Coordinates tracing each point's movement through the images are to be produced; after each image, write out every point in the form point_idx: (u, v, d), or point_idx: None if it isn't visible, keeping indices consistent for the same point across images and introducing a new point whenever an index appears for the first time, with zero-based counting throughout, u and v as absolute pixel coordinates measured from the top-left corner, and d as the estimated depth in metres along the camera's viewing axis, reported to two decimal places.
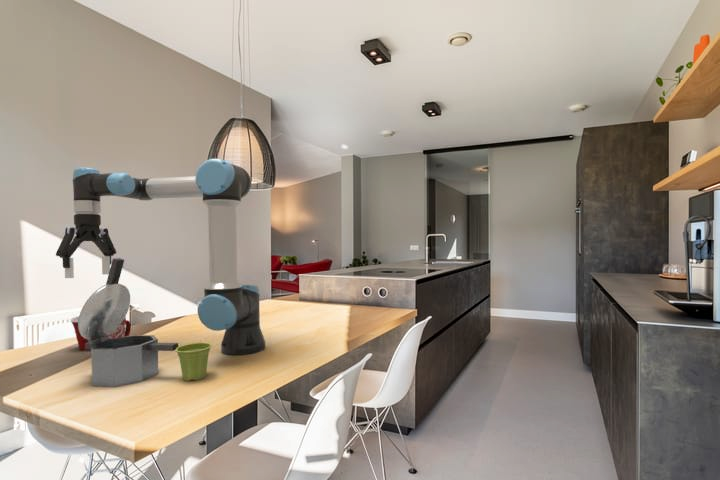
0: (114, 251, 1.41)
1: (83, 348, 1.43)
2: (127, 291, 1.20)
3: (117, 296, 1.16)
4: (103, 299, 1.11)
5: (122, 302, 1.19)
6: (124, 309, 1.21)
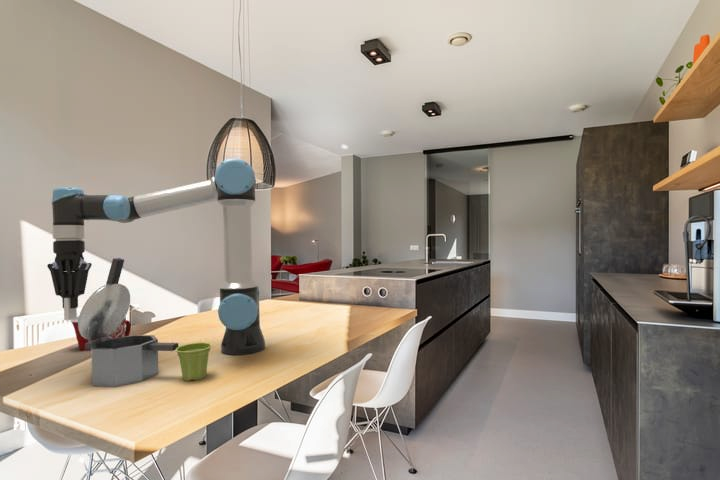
0: (75, 292, 1.14)
1: (83, 348, 1.43)
2: (127, 291, 1.20)
3: (117, 296, 1.16)
4: (103, 299, 1.11)
5: (122, 302, 1.19)
6: (124, 309, 1.21)
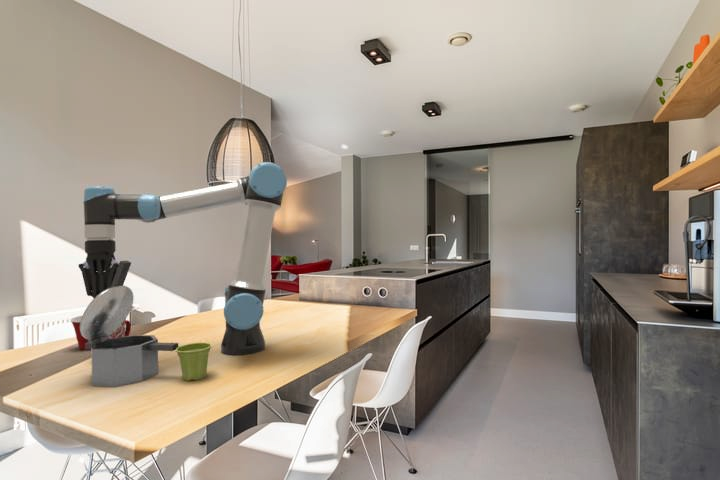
0: None
1: (83, 348, 1.43)
2: (131, 293, 1.19)
3: (121, 298, 1.16)
4: (107, 301, 1.11)
5: (125, 303, 1.19)
6: (126, 310, 1.20)
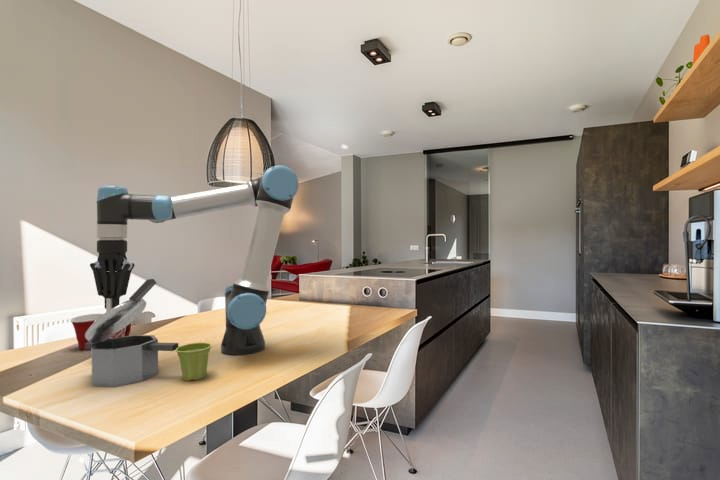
0: (117, 292, 1.12)
1: (83, 348, 1.43)
2: (144, 304, 1.19)
3: (134, 309, 1.15)
4: (120, 312, 1.10)
5: (135, 312, 1.18)
6: (134, 317, 1.20)
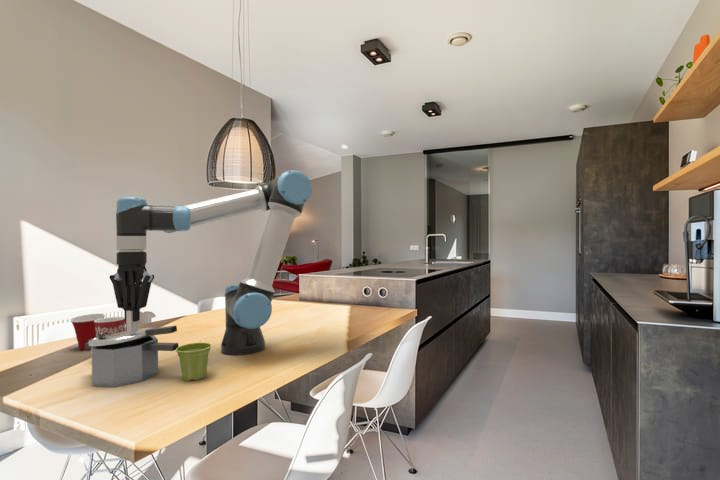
0: (138, 305, 1.11)
1: (83, 348, 1.43)
2: None
3: None
4: None
5: None
6: None
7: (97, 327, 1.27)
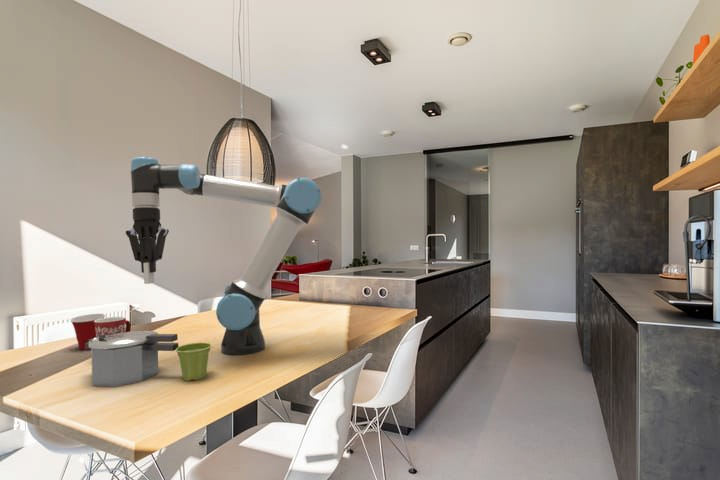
0: (155, 256, 1.20)
1: (83, 348, 1.43)
2: None
3: None
4: None
5: None
6: None
7: (97, 327, 1.27)
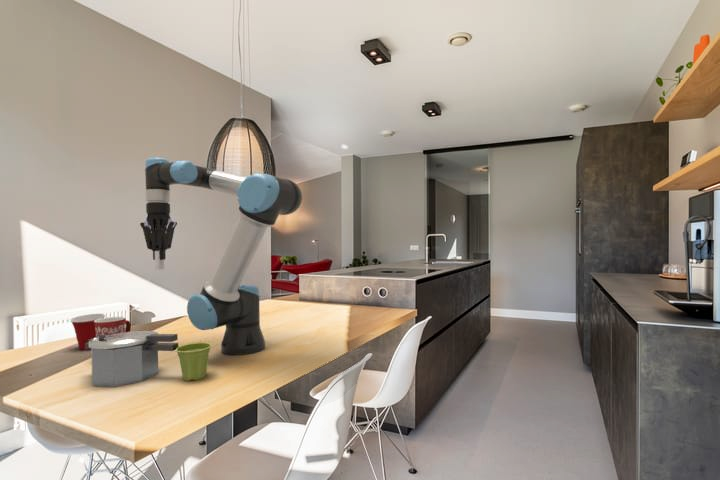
0: (164, 245, 1.36)
1: (83, 348, 1.43)
2: None
3: None
4: None
5: None
6: None
7: (97, 327, 1.27)
